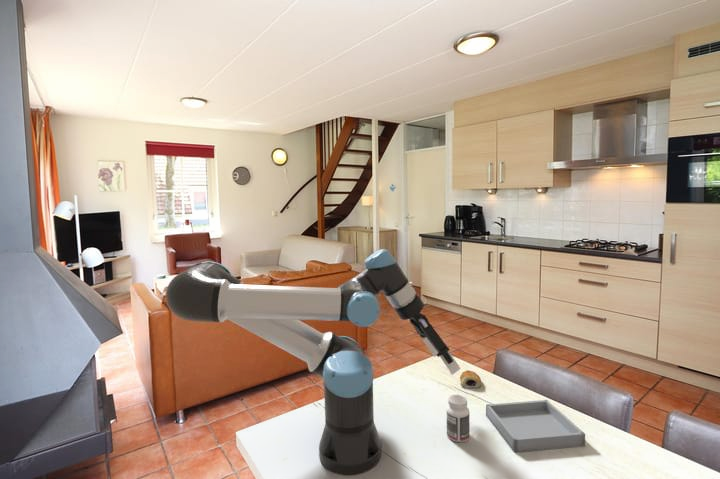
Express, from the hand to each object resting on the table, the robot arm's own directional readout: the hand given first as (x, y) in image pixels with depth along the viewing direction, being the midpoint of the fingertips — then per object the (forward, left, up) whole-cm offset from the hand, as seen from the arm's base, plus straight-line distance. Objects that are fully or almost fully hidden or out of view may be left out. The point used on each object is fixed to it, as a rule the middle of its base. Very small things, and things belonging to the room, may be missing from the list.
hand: (446, 362), depth 106 cm
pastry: (+14, +17, -16) cm, 27 cm away
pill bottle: (0, -10, -16) cm, 19 cm away
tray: (+20, -10, -15) cm, 27 cm away
